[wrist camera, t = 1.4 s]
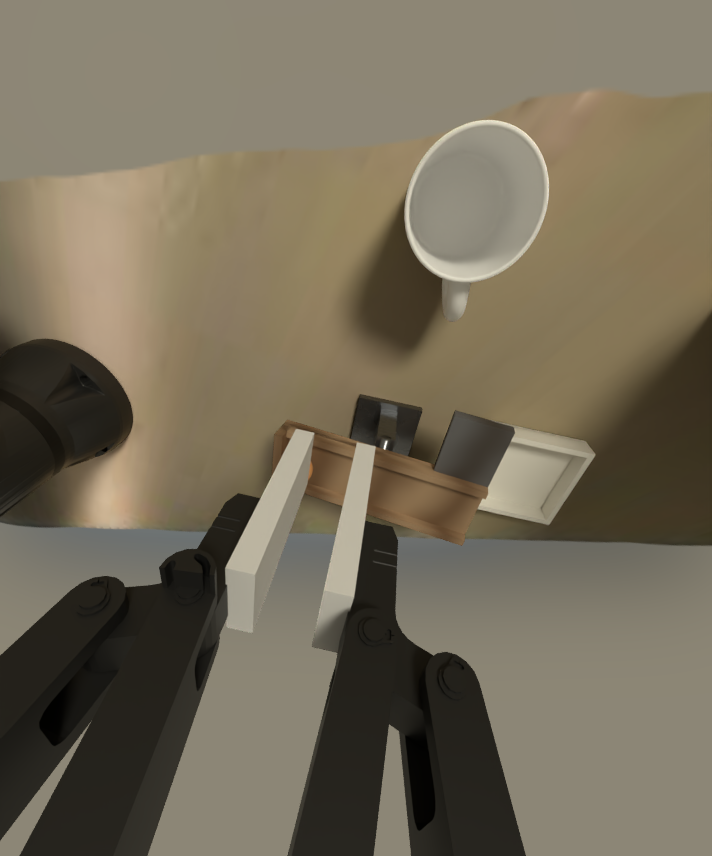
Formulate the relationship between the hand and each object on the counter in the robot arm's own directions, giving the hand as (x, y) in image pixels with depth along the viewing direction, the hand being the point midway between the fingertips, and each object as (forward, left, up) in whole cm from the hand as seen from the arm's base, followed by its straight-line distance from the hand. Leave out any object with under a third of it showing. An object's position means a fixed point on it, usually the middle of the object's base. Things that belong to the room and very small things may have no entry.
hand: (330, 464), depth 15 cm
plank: (+3, -11, -17) cm, 21 cm away
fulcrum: (+4, -14, -24) cm, 28 cm away
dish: (+20, -14, -24) cm, 35 cm away
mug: (+5, +8, -25) cm, 26 cm away
